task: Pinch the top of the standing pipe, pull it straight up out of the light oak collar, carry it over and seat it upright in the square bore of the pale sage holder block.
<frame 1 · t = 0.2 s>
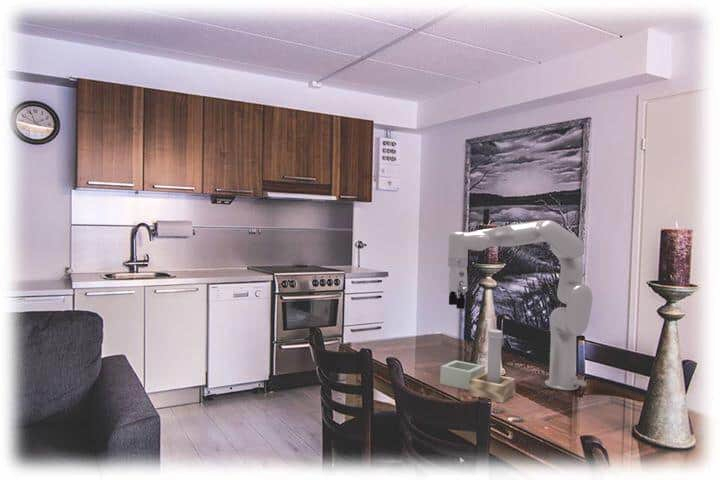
hand: (456, 306, 208), 31 cm above the table, tool pointing down, fingers open, 9 cm apart
holder block: (462, 383, 212), on the table
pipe: (491, 395, 199), resting in oak collar
oak collar: (491, 394, 199), on the table
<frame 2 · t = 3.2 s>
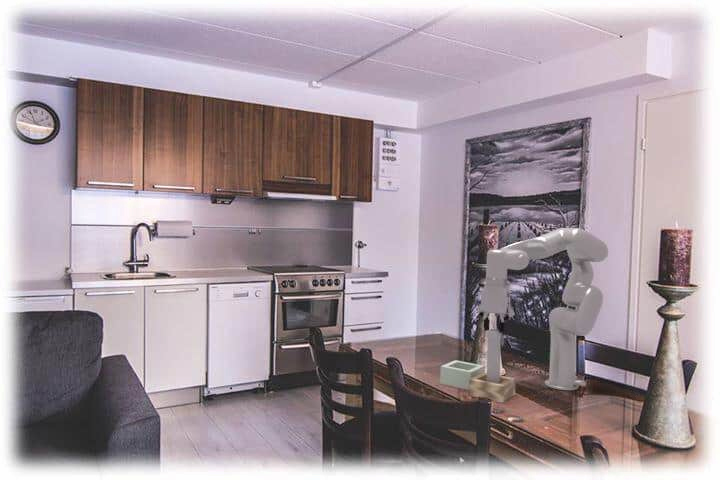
hand: (494, 330, 198), 24 cm above the table, tool pointing down, fingers closed on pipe, 5 cm apart
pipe: (491, 395, 199), resting in oak collar, touching gripper
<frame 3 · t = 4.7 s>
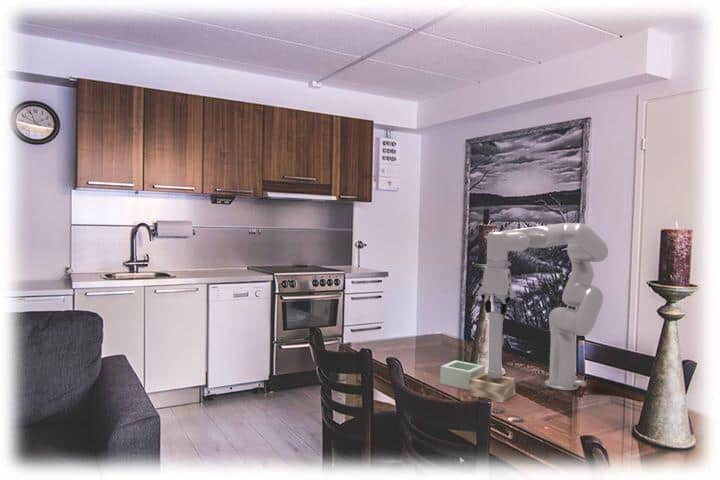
hand: (495, 312, 198), 31 cm above the table, tool pointing down, fingers closed on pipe, 5 cm apart
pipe: (493, 377, 199), point 7 cm above the table, touching gripper
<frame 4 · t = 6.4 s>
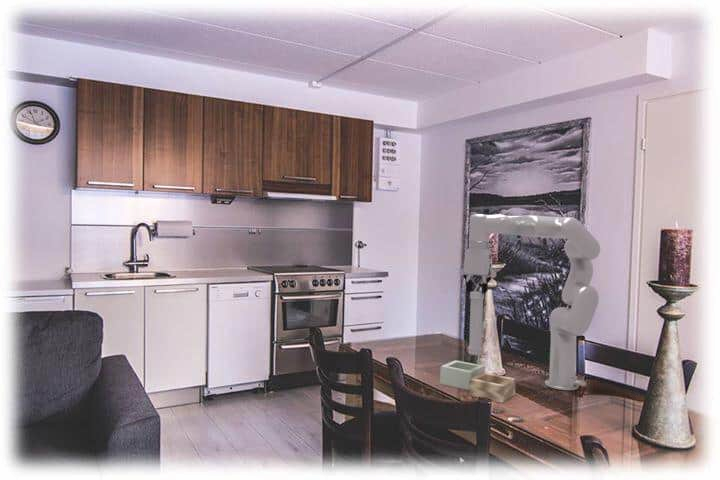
hand: (476, 292, 206), 37 cm above the table, tool pointing down, fingers closed on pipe, 5 cm apart
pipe: (474, 354, 207), point 13 cm above the table, touching gripper
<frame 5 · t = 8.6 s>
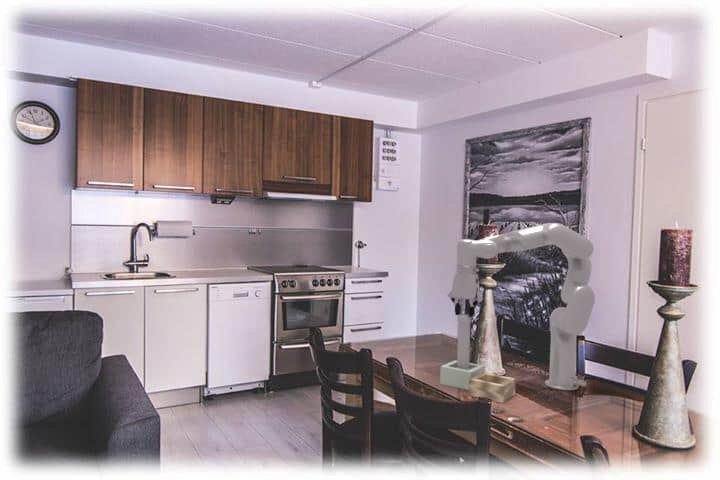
hand: (464, 315, 212), 27 cm above the table, tool pointing down, fingers closed on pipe, 5 cm apart
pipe: (461, 375, 213), point 3 cm above the table, touching gripper
when the fingers open (25 cm above the table, at t = 9.9 s): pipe drops 1 cm, resting in holder block.
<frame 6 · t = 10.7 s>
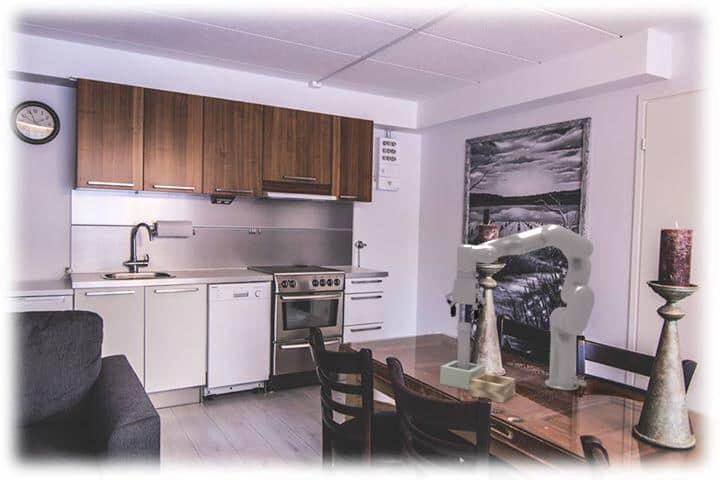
hand: (464, 318, 212), 26 cm above the table, tool pointing down, fingers open, 9 cm apart
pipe: (461, 383, 213), resting in holder block
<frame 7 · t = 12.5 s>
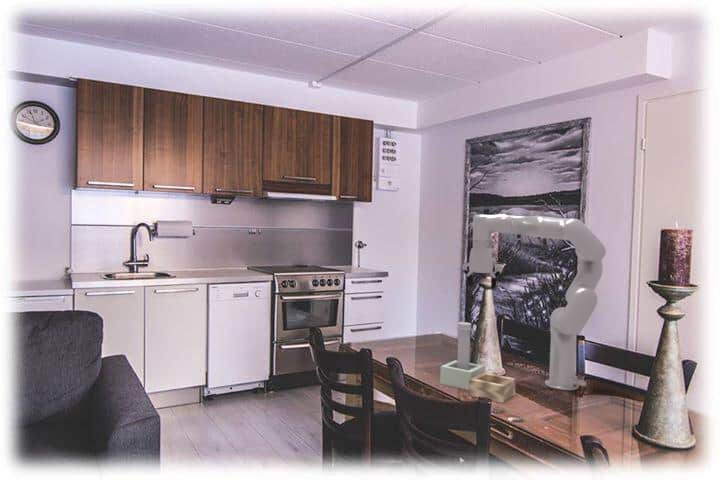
hand: (481, 286, 216), 39 cm above the table, tool pointing down, fingers open, 9 cm apart
nothing on the table moved.
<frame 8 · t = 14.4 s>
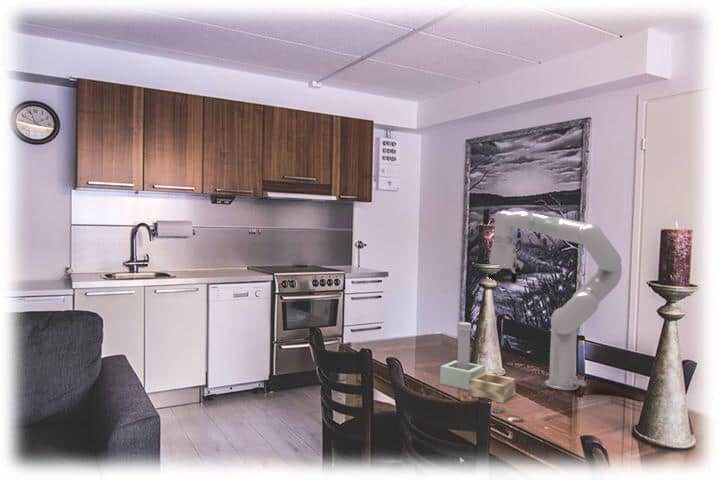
hand: (502, 281, 221), 40 cm above the table, tool pointing down, fingers open, 9 cm apart
nothing on the table moved.
at the end: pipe 0.4 cm off-centre on the holder block, point 0.0 cm above the holder block's base; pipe tilted 0°; the gripper is holding nothing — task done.
